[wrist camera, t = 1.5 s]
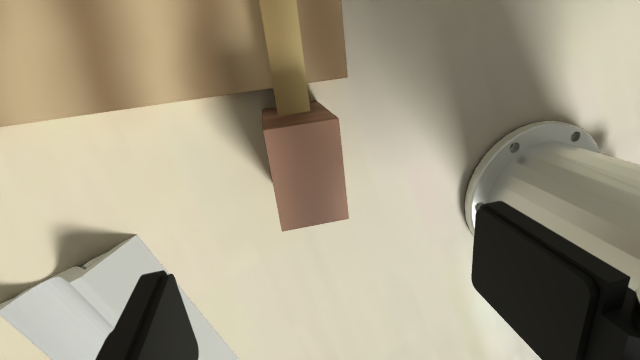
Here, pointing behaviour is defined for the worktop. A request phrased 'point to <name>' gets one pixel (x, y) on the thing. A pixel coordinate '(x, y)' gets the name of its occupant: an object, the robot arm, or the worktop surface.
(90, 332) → the crown molding
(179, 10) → the oak board
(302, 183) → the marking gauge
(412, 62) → the worktop surface
